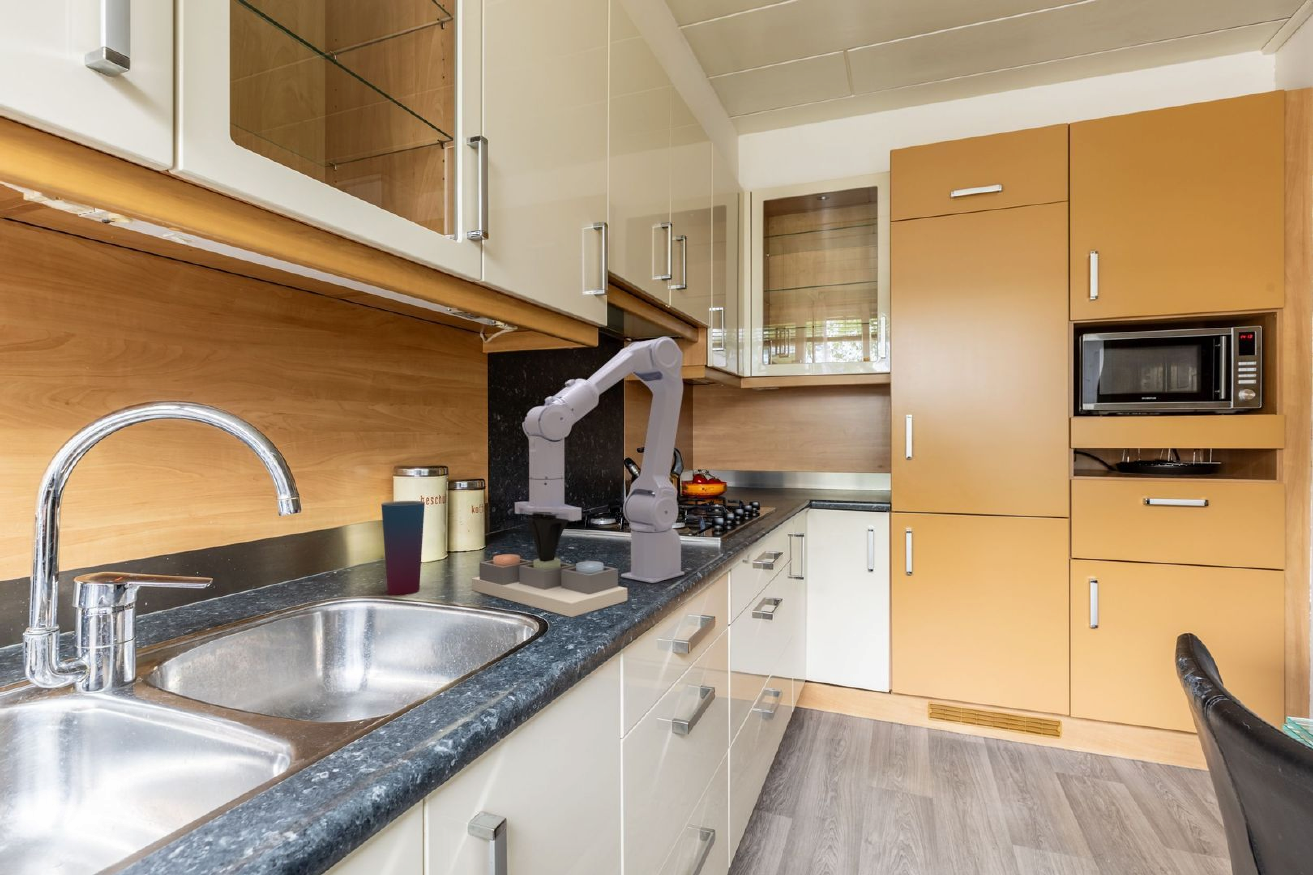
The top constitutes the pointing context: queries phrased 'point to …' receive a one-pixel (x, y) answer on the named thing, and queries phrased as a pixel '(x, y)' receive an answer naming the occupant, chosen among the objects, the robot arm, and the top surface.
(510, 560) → the button terracotta
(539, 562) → the button green
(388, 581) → the cup
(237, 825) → the top surface
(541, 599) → the panel
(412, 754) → the top surface
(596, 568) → the button blue
